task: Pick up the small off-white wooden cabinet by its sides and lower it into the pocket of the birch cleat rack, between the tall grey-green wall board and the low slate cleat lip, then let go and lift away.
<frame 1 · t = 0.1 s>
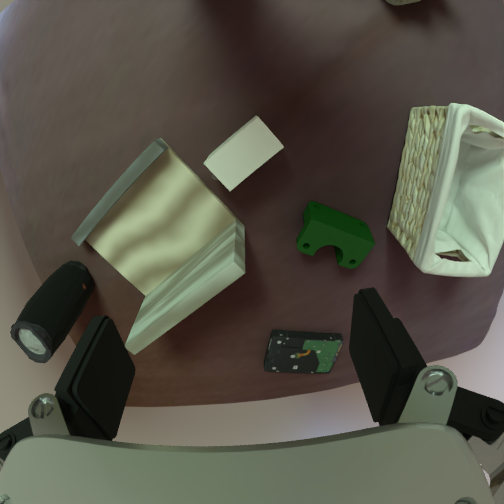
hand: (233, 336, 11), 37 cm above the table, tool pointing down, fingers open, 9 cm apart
mini cabinet: (243, 147, 44), on the table
clamp: (328, 229, 50), on the table
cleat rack: (155, 227, 49), on the table
portable speaker: (78, 277, 53), on the table
disk drive: (301, 347, 63), on the table
storage basket: (431, 174, 46), on the table
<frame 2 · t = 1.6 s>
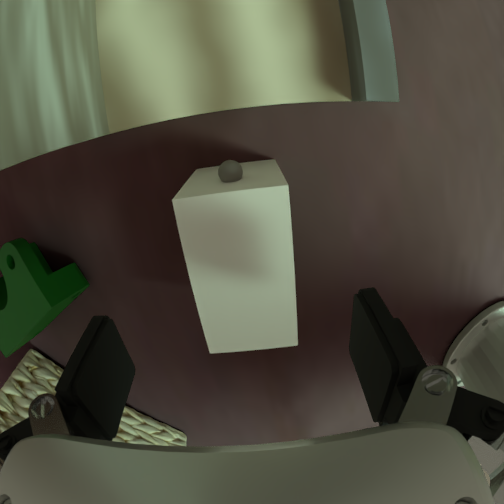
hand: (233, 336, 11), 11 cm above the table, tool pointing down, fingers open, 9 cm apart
mini cabinet: (244, 228, 21), on the table
clamp: (40, 277, 23), on the table
storage basket: (95, 413, 32), on the table
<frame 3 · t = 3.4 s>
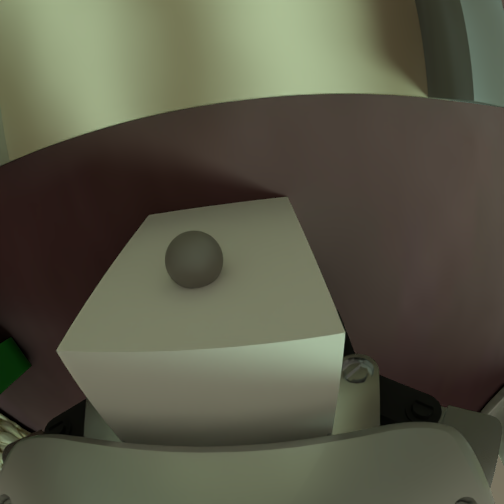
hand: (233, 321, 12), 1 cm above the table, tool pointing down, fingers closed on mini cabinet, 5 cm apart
mini cabinet: (234, 308, 13), on the table, touching gripper
storage basket: (73, 469, 24), on the table
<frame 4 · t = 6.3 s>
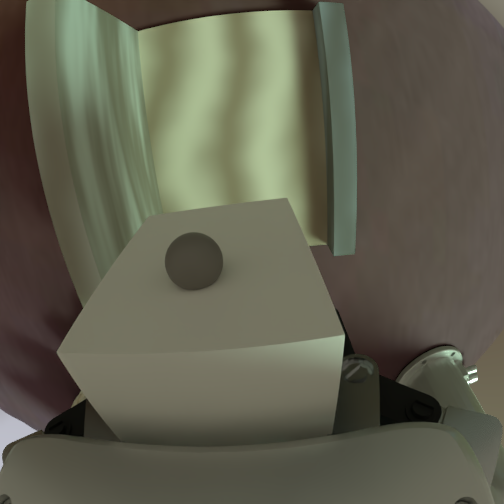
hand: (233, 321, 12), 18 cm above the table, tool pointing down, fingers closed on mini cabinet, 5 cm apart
mini cabinet: (234, 309, 13), point 17 cm above the table, touching gripper
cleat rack: (236, 133, 26), on the table
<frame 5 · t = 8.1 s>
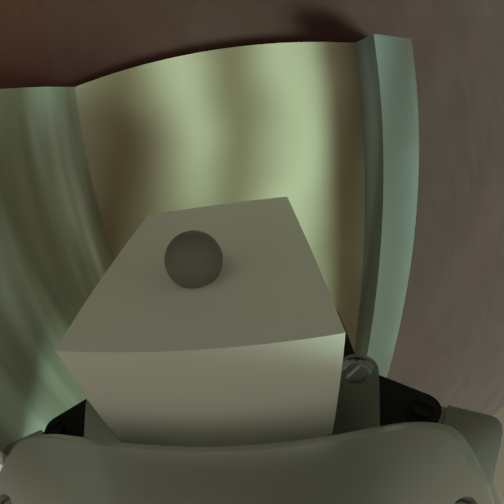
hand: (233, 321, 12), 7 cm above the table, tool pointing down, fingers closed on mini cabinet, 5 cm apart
mini cabinet: (234, 309, 13), point 6 cm above the table, touching gripper
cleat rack: (236, 243, 19), on the table
when the fingers open (3 cm above the table, at t = 9.3 s): mini cabinet drops 1 cm, resting on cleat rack.
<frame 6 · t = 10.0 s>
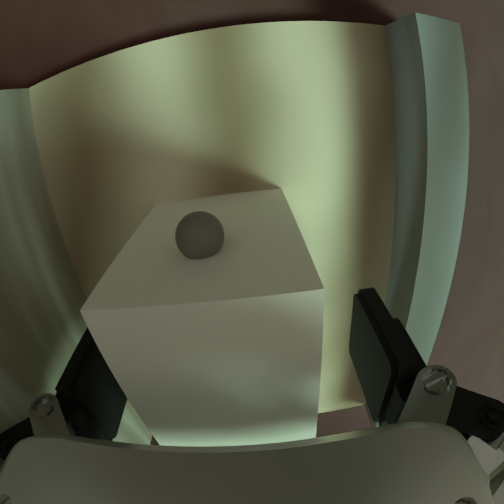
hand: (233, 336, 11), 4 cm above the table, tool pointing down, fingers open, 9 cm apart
mini cabinet: (233, 291, 14), point 1 cm above the table, touching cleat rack
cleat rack: (232, 279, 15), on the table
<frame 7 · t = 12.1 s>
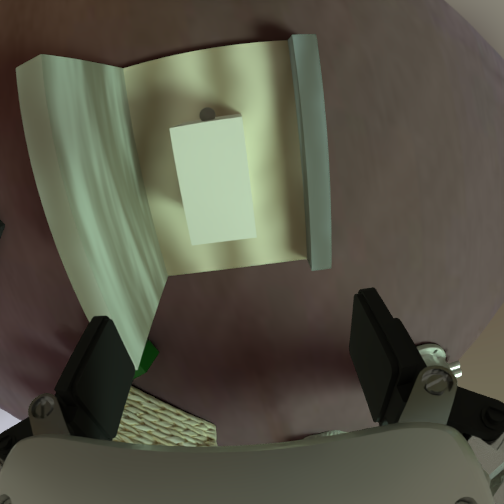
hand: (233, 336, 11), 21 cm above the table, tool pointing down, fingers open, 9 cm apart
mini cabinet: (220, 164, 28), point 1 cm above the table, touching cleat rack
clamp: (119, 344, 39), on the table
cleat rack: (220, 162, 29), on the table
storage basket: (147, 414, 48), on the table
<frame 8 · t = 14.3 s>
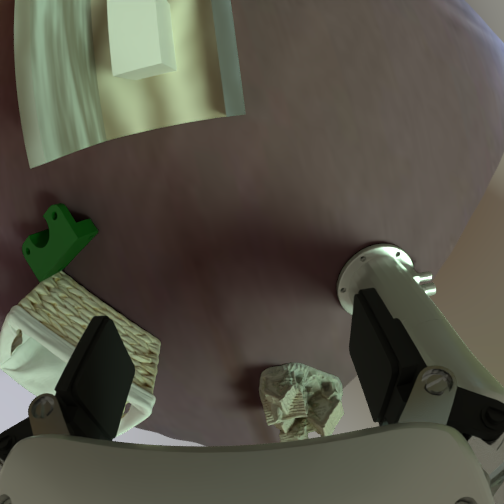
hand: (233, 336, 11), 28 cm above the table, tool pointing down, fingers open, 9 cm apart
mini cabinet: (152, 41, 28), point 1 cm above the table, touching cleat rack
clamp: (66, 231, 39), on the table
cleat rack: (153, 42, 29), on the table
ceramic cottage: (301, 386, 55), on the table
storage basket: (94, 327, 47), on the table
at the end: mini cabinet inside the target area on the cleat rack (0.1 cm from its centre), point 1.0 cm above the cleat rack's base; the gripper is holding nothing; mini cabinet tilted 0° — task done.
